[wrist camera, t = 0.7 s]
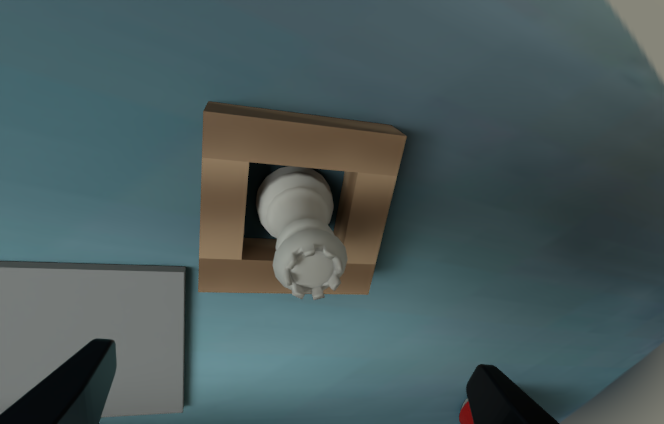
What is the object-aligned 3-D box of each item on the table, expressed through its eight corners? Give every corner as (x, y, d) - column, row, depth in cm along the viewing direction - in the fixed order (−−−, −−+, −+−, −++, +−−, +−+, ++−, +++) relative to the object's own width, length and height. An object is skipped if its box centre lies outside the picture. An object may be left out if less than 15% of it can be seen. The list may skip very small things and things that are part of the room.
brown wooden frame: (358, 271, 26) (368, 294, 24) (202, 267, 24) (198, 292, 22) (390, 125, 22) (406, 136, 20) (208, 101, 20) (203, 110, 17)
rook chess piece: (238, 200, 22) (235, 281, 15) (293, 146, 22) (315, 205, 15) (293, 244, 24) (312, 334, 17) (345, 196, 24) (387, 269, 16)
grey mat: (183, 405, 28) (182, 412, 28) (-11, 415, 25) (-16, 423, 25) (185, 266, 23) (184, 272, 23) (-54, 259, 21) (-62, 265, 20)
